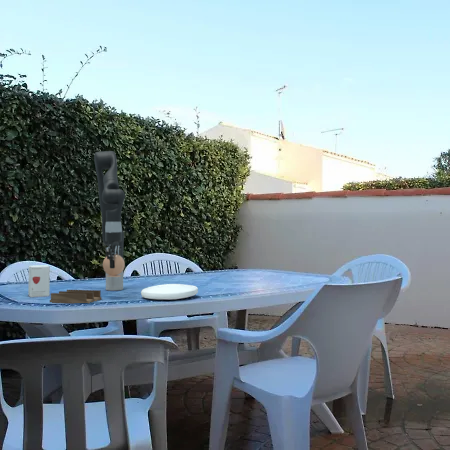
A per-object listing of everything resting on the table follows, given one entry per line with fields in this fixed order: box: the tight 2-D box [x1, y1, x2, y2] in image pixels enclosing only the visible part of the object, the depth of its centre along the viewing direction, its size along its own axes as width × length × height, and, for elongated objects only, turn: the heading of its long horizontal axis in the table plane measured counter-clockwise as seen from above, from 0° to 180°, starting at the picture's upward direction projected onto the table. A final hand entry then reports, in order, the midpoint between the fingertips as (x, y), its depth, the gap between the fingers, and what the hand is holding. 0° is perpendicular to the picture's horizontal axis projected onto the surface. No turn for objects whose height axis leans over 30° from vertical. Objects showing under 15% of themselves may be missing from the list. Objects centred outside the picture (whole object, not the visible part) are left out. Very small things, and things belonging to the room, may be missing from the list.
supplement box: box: [27, 264, 51, 298], centre depth 239 cm, size 9×9×15 cm
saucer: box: [102, 254, 126, 277], centre depth 228 cm, size 3×10×11 cm, turn 77°
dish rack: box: [49, 289, 103, 304], centre depth 220 cm, size 14×18×4 cm
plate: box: [140, 283, 199, 301], centre depth 231 cm, size 28×6×27 cm
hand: (113, 267), depth 228 cm, fingers closed on saucer, 2 cm apart
